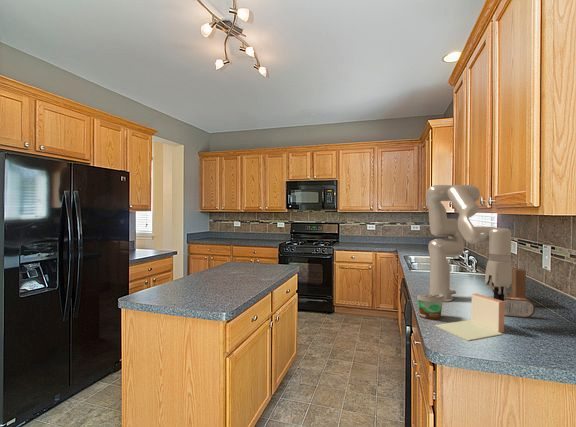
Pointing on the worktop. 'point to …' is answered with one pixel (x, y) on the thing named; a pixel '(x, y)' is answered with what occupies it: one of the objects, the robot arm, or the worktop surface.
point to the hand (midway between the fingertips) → (498, 302)
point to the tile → (488, 312)
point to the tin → (518, 307)
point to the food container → (430, 306)
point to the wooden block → (518, 283)
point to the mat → (468, 330)
